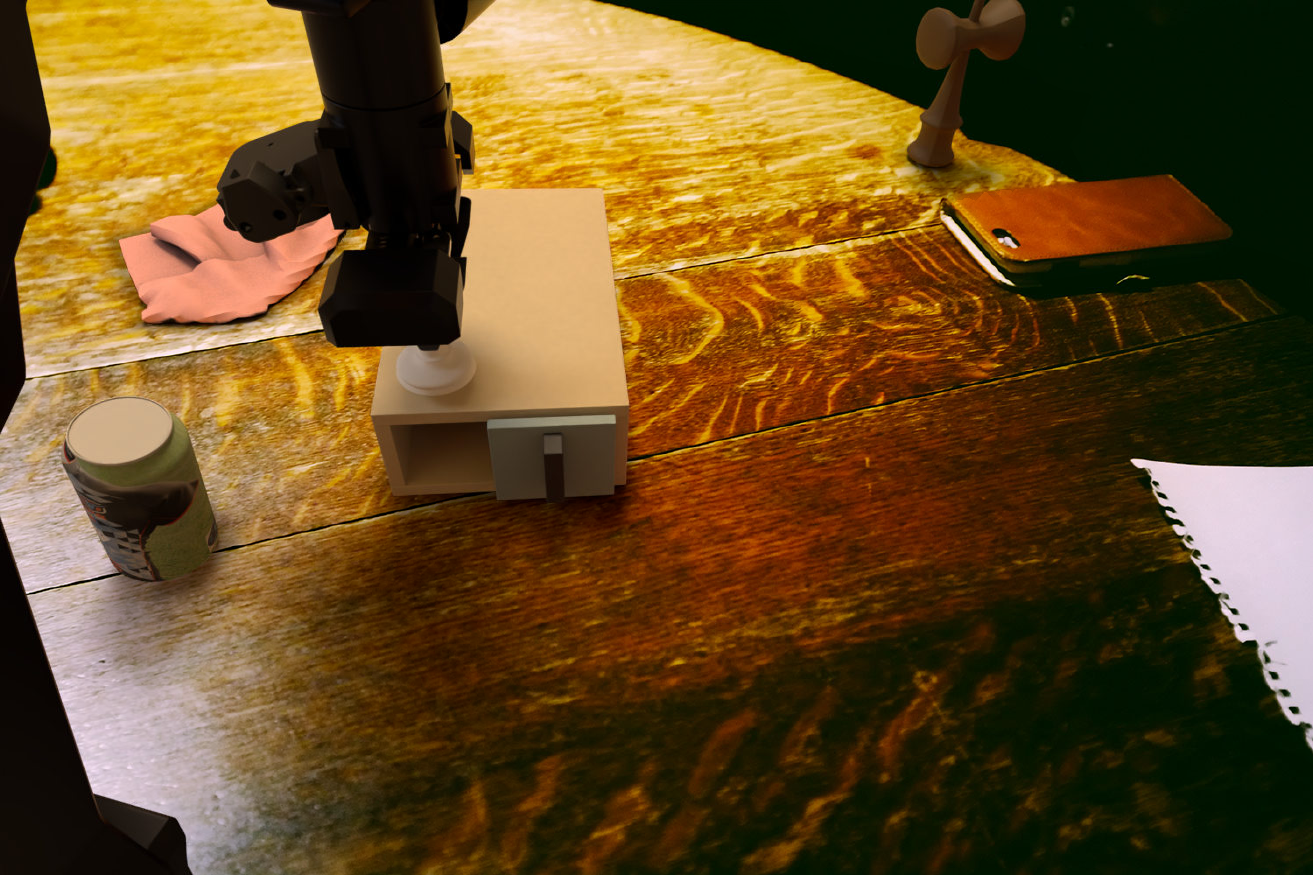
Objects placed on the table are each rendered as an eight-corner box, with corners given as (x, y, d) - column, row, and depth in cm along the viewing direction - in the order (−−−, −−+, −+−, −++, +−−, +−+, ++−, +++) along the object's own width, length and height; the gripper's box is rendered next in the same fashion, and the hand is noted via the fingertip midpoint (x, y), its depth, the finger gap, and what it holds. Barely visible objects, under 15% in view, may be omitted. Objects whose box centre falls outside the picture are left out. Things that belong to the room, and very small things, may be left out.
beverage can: (136, 515, 54) (47, 383, 45) (253, 509, 55) (188, 379, 46) (104, 598, 50) (-1, 470, 41) (231, 590, 51) (155, 463, 42)
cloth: (126, 347, 65) (113, 324, 63) (117, 205, 78) (105, 182, 76) (388, 290, 71) (382, 267, 70) (339, 168, 84) (333, 146, 83)
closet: (625, 484, 58) (629, 405, 52) (393, 496, 56) (369, 415, 50) (602, 266, 76) (602, 187, 70) (423, 269, 74) (409, 189, 68)
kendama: (978, 164, 92) (1051, -30, 78) (911, 180, 89) (974, -20, 74) (944, 139, 96) (1007, -51, 81) (878, 154, 93) (931, -42, 78)
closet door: (616, 515, 56) (618, 444, 50) (496, 521, 55) (486, 450, 50) (613, 485, 57) (615, 414, 52) (497, 491, 57) (487, 419, 51)
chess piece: (449, 405, 50) (425, 269, 43) (380, 382, 51) (345, 244, 44) (490, 357, 53) (474, 222, 46) (424, 335, 54) (398, 200, 47)
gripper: (248, 5, 44) (319, 251, 56) (139, 189, 32) (259, 457, 43) (460, 9, 45) (486, 248, 57) (435, 187, 33) (476, 448, 44)
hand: (430, 337), depth 50 cm, fingers closed on chess piece
